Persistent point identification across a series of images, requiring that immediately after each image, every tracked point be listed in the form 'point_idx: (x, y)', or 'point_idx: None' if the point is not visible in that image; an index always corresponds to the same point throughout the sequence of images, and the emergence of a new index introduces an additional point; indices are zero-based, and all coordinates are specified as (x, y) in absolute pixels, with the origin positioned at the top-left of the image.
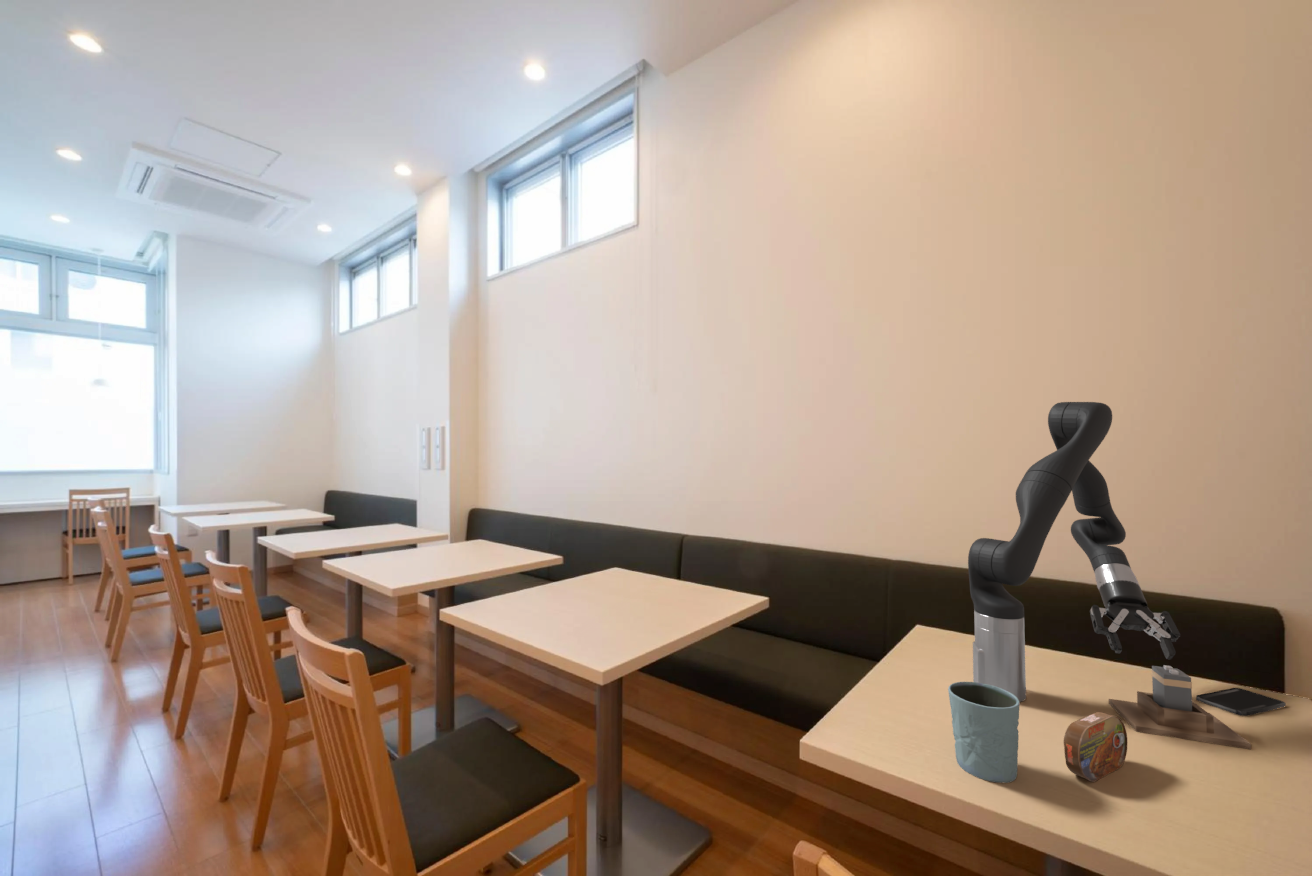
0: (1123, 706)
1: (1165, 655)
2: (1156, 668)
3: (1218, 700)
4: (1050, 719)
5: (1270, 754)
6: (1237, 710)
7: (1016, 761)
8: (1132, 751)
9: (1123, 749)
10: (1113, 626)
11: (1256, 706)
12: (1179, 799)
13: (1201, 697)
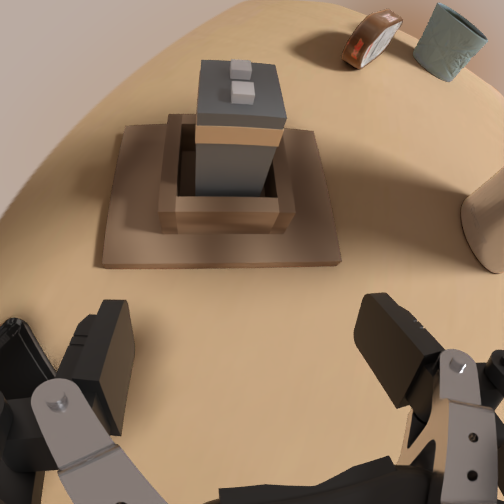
0: (317, 219)
1: (130, 356)
2: (280, 97)
3: (28, 395)
4: (421, 152)
5: (106, 129)
6: (19, 325)
7: (418, 45)
8: (327, 86)
9: (345, 54)
10: (462, 391)
11: None
12: (300, 31)
13: None
